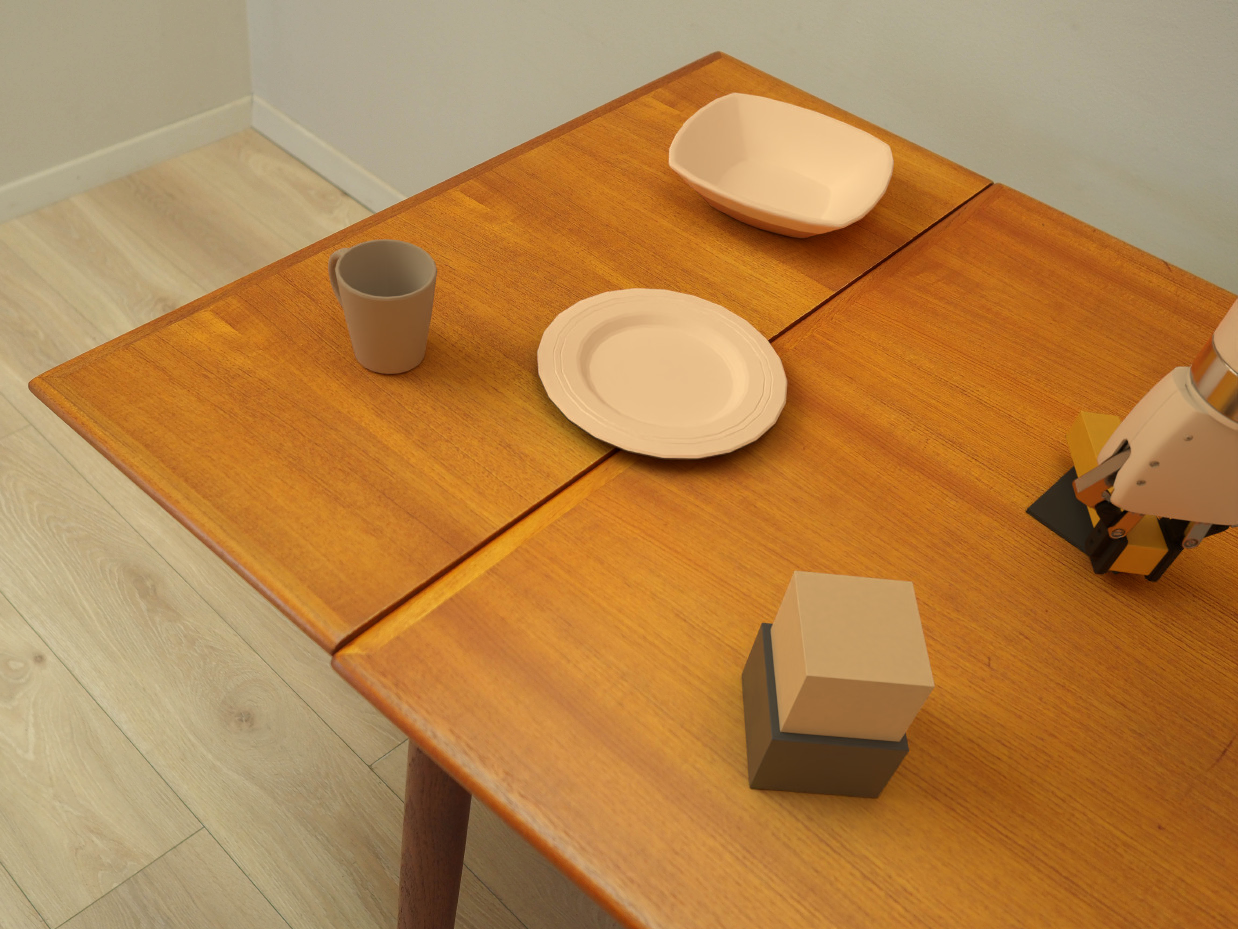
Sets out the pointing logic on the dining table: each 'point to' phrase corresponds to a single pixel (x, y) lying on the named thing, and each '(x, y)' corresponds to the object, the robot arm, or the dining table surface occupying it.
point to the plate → (662, 374)
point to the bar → (1084, 450)
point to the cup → (385, 301)
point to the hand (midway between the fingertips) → (1120, 561)
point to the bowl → (781, 165)
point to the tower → (835, 686)
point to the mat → (1064, 512)
